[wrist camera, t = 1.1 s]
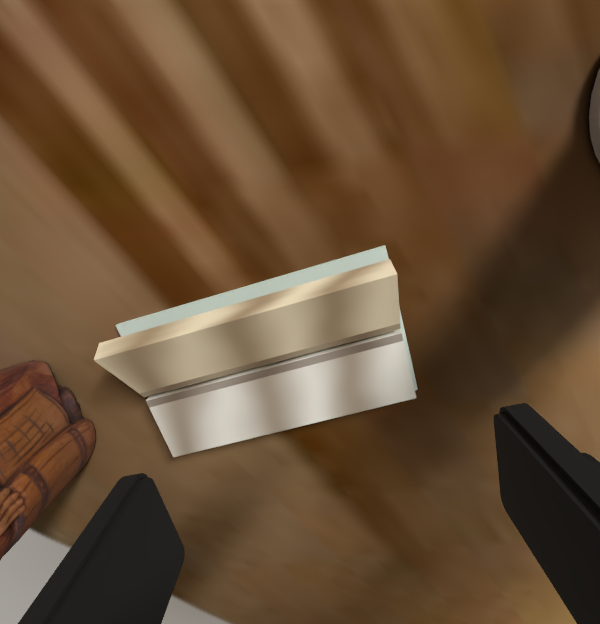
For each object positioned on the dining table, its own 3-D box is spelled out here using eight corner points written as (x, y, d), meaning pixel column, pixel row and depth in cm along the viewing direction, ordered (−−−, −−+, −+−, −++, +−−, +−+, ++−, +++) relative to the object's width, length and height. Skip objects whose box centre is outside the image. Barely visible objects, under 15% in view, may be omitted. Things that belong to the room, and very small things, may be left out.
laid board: (396, 325, 25) (401, 332, 24) (411, 388, 27) (416, 398, 26) (153, 391, 28) (145, 400, 26) (179, 445, 29) (173, 457, 28)
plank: (389, 259, 21) (397, 274, 20) (394, 314, 25) (400, 328, 24) (99, 343, 23) (93, 360, 22) (146, 381, 27) (144, 397, 26)
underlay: (384, 245, 24) (385, 245, 24) (416, 387, 27) (417, 389, 27) (117, 324, 26) (115, 325, 26) (176, 447, 30) (175, 449, 29)
